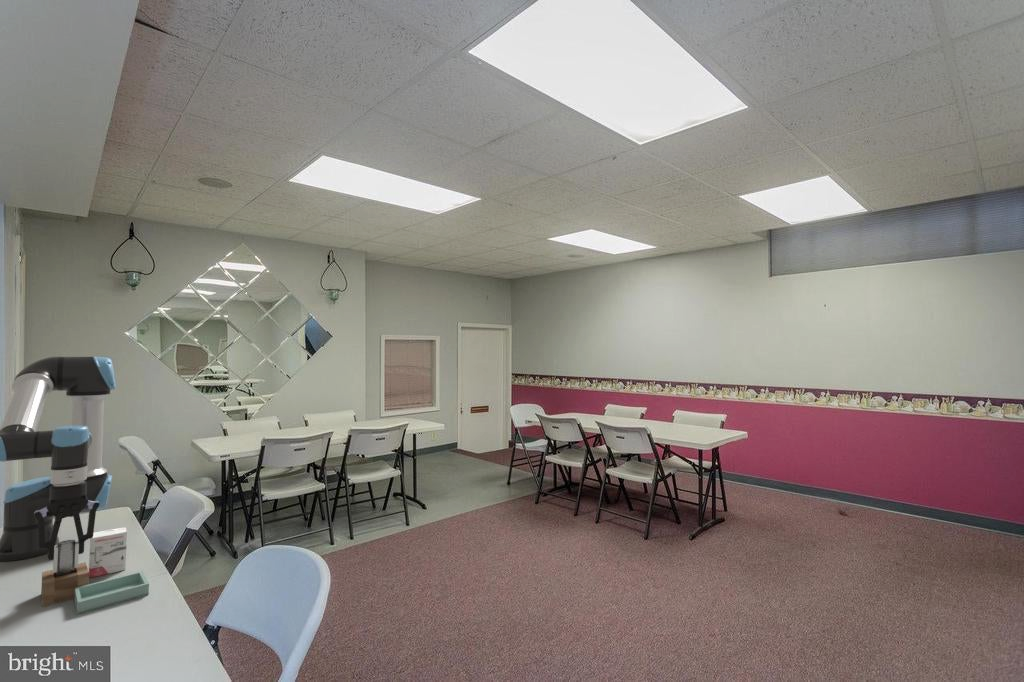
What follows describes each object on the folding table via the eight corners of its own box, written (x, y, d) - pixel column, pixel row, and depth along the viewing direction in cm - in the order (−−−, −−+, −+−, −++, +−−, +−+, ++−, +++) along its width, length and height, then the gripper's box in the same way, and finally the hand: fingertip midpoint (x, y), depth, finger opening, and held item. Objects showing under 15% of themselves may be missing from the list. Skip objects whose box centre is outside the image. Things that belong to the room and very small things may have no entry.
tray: (74, 599, 130) (74, 587, 130) (141, 581, 140) (142, 571, 140) (77, 614, 122) (77, 602, 122) (148, 594, 133) (148, 583, 133)
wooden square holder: (41, 594, 132) (42, 572, 132) (84, 583, 139) (85, 562, 139) (42, 606, 126) (43, 583, 126) (87, 594, 132) (88, 572, 132)
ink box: (88, 578, 142) (90, 537, 142) (88, 572, 145) (89, 533, 146) (126, 570, 147) (127, 531, 148) (125, 564, 151) (126, 526, 151)
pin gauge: (55, 586, 132) (57, 542, 133) (73, 582, 135) (74, 538, 135) (56, 590, 130) (58, 545, 130) (74, 586, 132) (75, 542, 133)
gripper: (26, 491, 125) (22, 583, 124) (109, 480, 136) (106, 563, 136) (26, 485, 130) (22, 573, 129) (106, 475, 142) (103, 555, 141)
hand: (65, 568), depth 132 cm, fingers closed on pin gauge, 3 cm apart
